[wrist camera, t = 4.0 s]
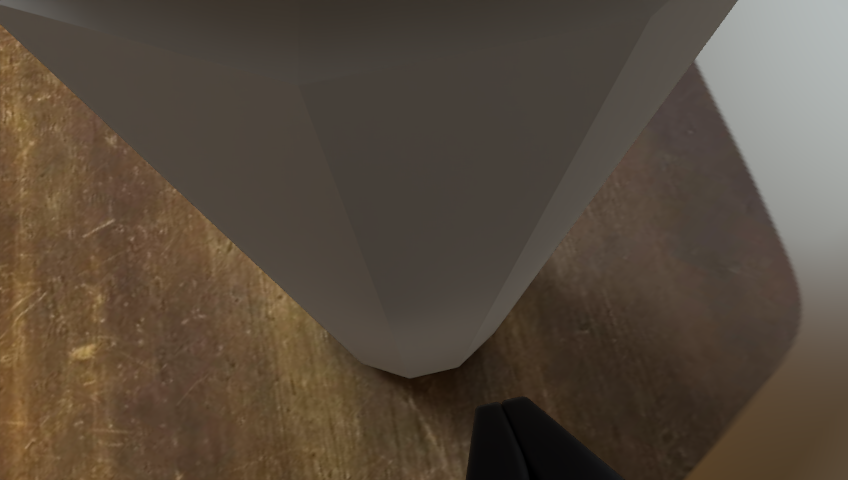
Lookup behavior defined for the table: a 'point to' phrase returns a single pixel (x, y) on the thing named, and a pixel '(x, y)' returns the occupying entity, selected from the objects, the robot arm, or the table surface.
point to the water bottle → (379, 137)
